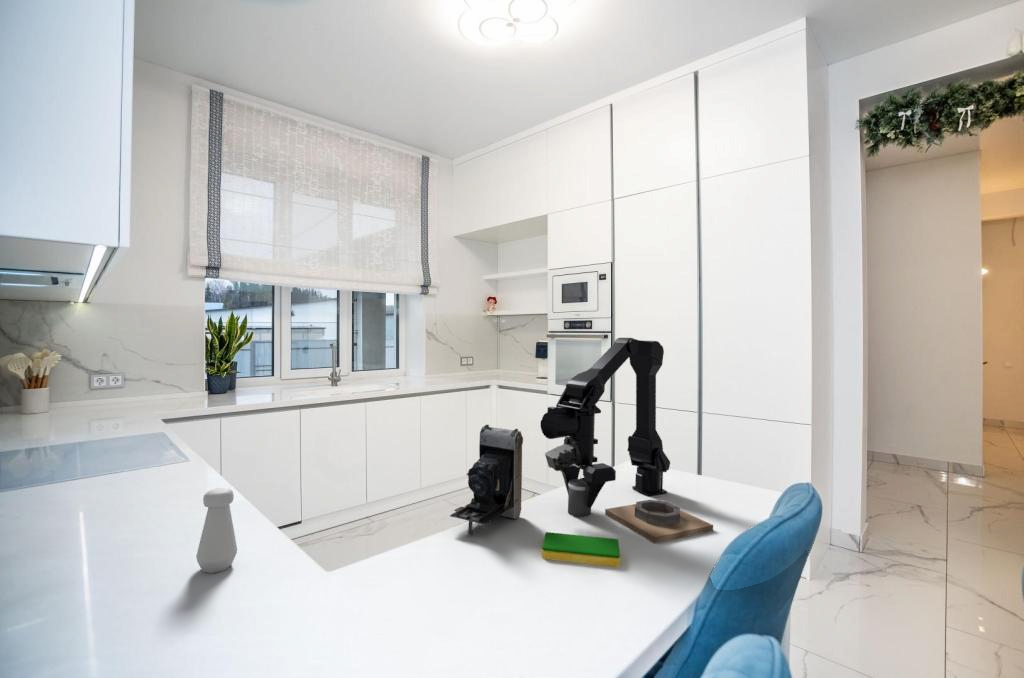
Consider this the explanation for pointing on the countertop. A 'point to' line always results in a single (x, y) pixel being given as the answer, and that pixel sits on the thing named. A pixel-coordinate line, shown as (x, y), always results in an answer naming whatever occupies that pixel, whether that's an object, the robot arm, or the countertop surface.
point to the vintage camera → (495, 478)
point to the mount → (658, 520)
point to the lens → (577, 499)
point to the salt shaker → (217, 532)
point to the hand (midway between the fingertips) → (579, 501)
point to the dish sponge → (581, 549)
